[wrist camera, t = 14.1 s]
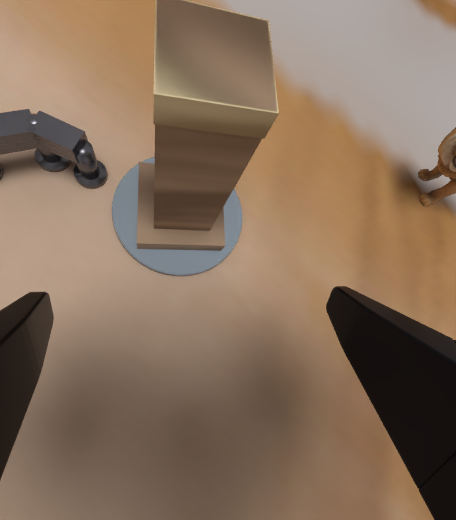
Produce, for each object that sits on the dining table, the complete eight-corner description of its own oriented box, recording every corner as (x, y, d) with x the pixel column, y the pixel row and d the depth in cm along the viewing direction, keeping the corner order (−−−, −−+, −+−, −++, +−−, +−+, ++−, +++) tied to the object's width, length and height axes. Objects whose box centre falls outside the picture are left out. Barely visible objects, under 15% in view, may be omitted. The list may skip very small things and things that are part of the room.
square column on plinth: (221, 250, 20) (310, 144, 9) (137, 248, 19) (114, 118, 7) (217, 178, 21) (291, 5, 10) (139, 171, 20) (123, -39, 9)
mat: (230, 287, 20) (232, 286, 20) (96, 260, 18) (94, 258, 18) (247, 177, 23) (249, 173, 22) (131, 143, 21) (131, 139, 20)
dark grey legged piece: (95, 214, 19) (82, 186, 15) (-41, 181, 17) (-90, 143, 14) (112, 160, 20) (104, 124, 17) (-14, 126, 19) (-53, 77, 15)
